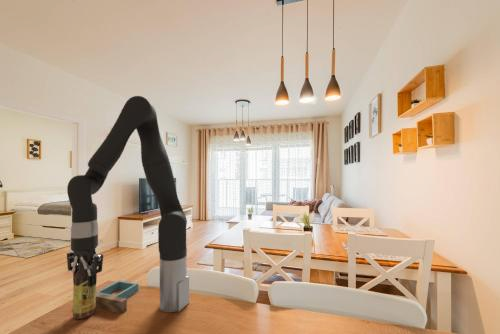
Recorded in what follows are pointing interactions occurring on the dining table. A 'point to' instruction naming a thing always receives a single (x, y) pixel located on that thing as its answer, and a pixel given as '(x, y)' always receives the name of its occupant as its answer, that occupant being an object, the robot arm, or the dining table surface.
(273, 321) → the dining table surface
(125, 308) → the walnut rail
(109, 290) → the square collar
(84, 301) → the sauce bottle
